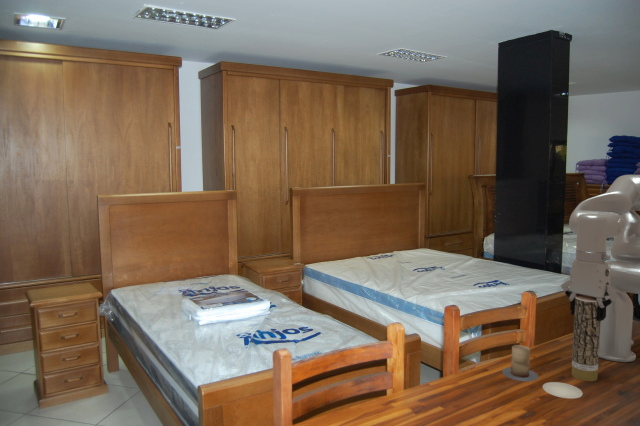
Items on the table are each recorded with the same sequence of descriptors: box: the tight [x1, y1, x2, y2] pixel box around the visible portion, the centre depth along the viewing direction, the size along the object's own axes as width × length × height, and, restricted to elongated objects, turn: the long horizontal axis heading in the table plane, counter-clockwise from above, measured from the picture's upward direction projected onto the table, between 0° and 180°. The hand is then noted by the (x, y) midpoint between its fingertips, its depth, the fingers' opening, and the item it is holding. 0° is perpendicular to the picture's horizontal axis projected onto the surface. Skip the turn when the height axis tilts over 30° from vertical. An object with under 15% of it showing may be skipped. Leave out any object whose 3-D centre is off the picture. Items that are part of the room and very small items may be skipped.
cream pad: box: [542, 381, 584, 400], centre depth 139 cm, size 10×10×1 cm
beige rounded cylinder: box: [510, 344, 531, 378], centre depth 149 cm, size 5×5×8 cm
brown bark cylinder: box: [571, 294, 601, 382], centre depth 146 cm, size 7×7×25 cm
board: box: [501, 366, 539, 382], centre depth 144 cm, size 12×23×1 cm, turn 35°
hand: (587, 316), depth 146 cm, fingers closed on brown bark cylinder, 6 cm apart
